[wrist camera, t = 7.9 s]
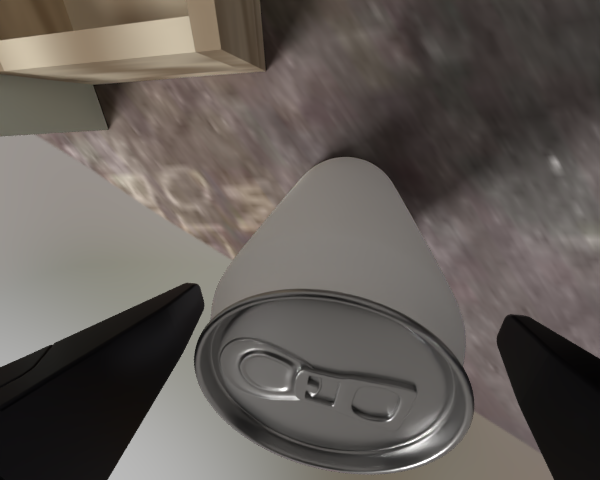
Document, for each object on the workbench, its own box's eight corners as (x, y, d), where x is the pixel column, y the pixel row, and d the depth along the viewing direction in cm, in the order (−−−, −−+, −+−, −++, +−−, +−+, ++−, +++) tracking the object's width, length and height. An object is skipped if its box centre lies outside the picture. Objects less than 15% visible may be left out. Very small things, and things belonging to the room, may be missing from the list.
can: (297, 147, 15) (149, 235, 4) (412, 163, 14) (600, 324, 3) (288, 244, 18) (190, 439, 7) (382, 262, 17) (429, 511, 6)
